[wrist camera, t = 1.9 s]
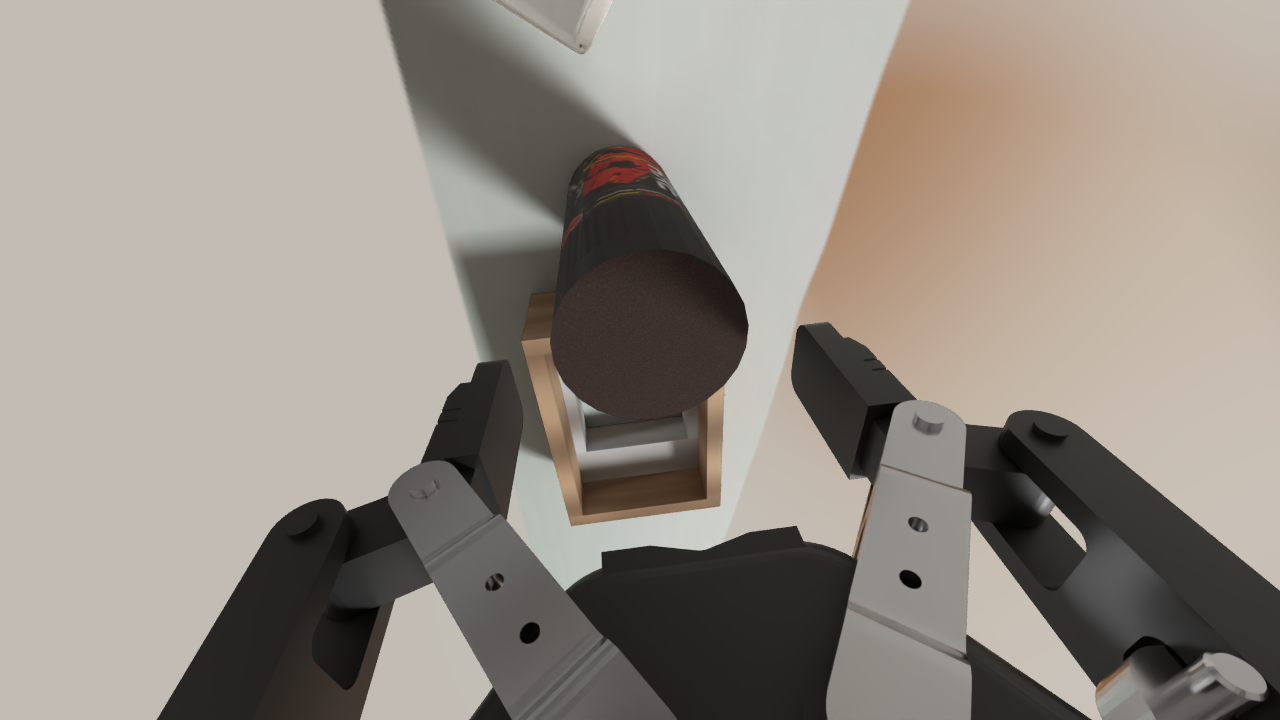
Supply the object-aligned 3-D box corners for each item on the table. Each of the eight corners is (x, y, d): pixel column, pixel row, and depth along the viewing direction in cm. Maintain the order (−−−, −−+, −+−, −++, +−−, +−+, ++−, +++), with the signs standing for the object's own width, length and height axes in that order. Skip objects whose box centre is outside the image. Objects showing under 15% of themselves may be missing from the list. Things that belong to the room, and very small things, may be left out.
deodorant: (555, 235, 27) (529, 398, 14) (584, 128, 24) (582, 218, 11) (649, 265, 28) (698, 434, 16) (688, 168, 25) (785, 285, 13)
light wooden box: (531, 294, 29) (521, 341, 24) (704, 274, 29) (726, 316, 24) (572, 468, 38) (571, 526, 33) (704, 451, 38) (720, 506, 34)
